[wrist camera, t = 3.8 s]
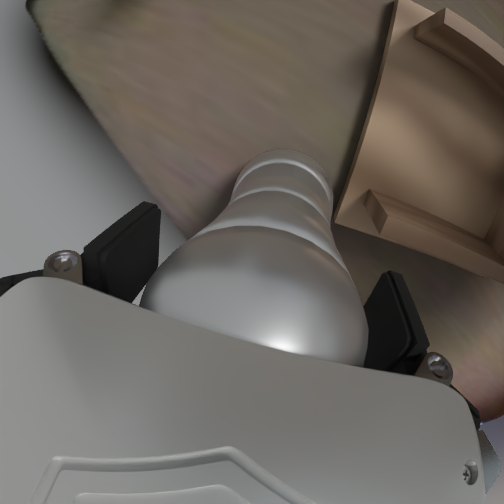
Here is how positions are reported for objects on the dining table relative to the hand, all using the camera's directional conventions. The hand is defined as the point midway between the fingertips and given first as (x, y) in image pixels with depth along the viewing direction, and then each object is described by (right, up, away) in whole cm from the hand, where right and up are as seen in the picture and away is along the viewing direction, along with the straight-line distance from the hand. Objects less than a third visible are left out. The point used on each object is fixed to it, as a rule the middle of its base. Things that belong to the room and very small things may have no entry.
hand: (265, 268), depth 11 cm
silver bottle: (+2, +5, +9) cm, 11 cm away
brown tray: (+15, +9, +4) cm, 18 cm away
